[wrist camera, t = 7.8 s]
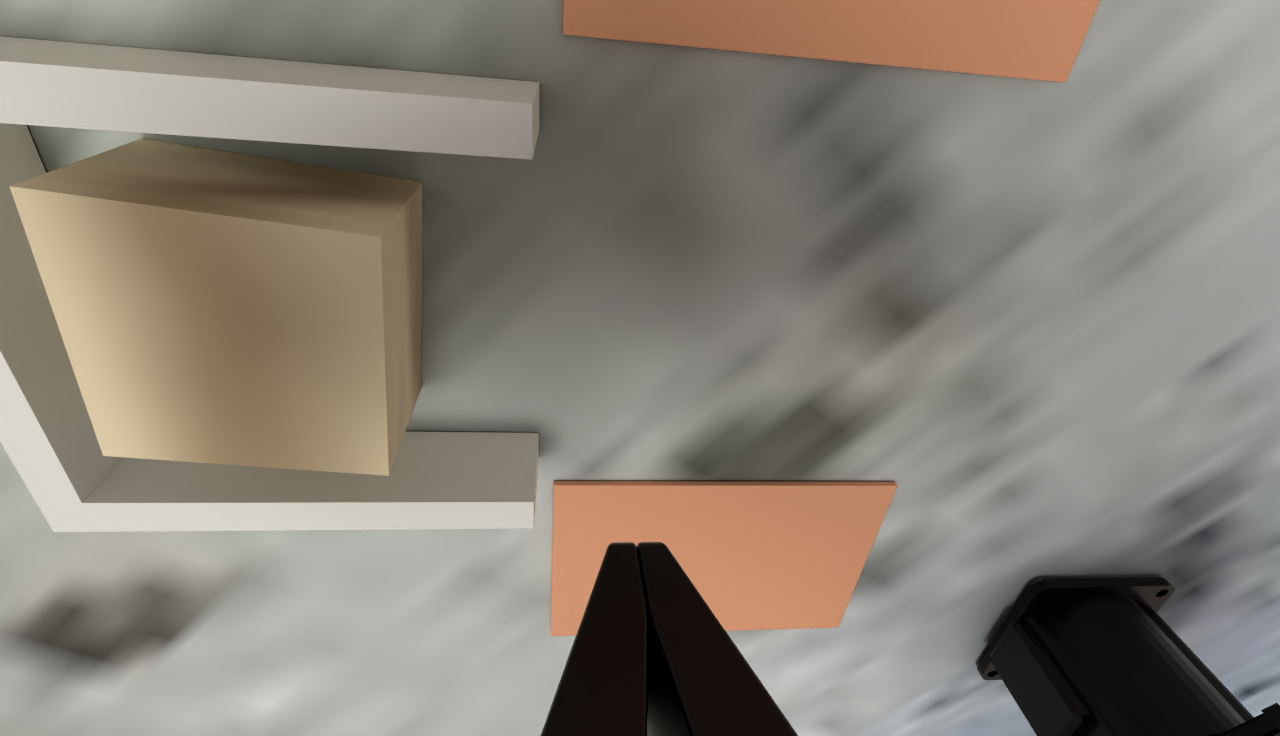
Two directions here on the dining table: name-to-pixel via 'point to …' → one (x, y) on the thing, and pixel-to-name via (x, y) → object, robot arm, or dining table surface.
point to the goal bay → (247, 110)
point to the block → (234, 304)
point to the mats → (784, 511)
